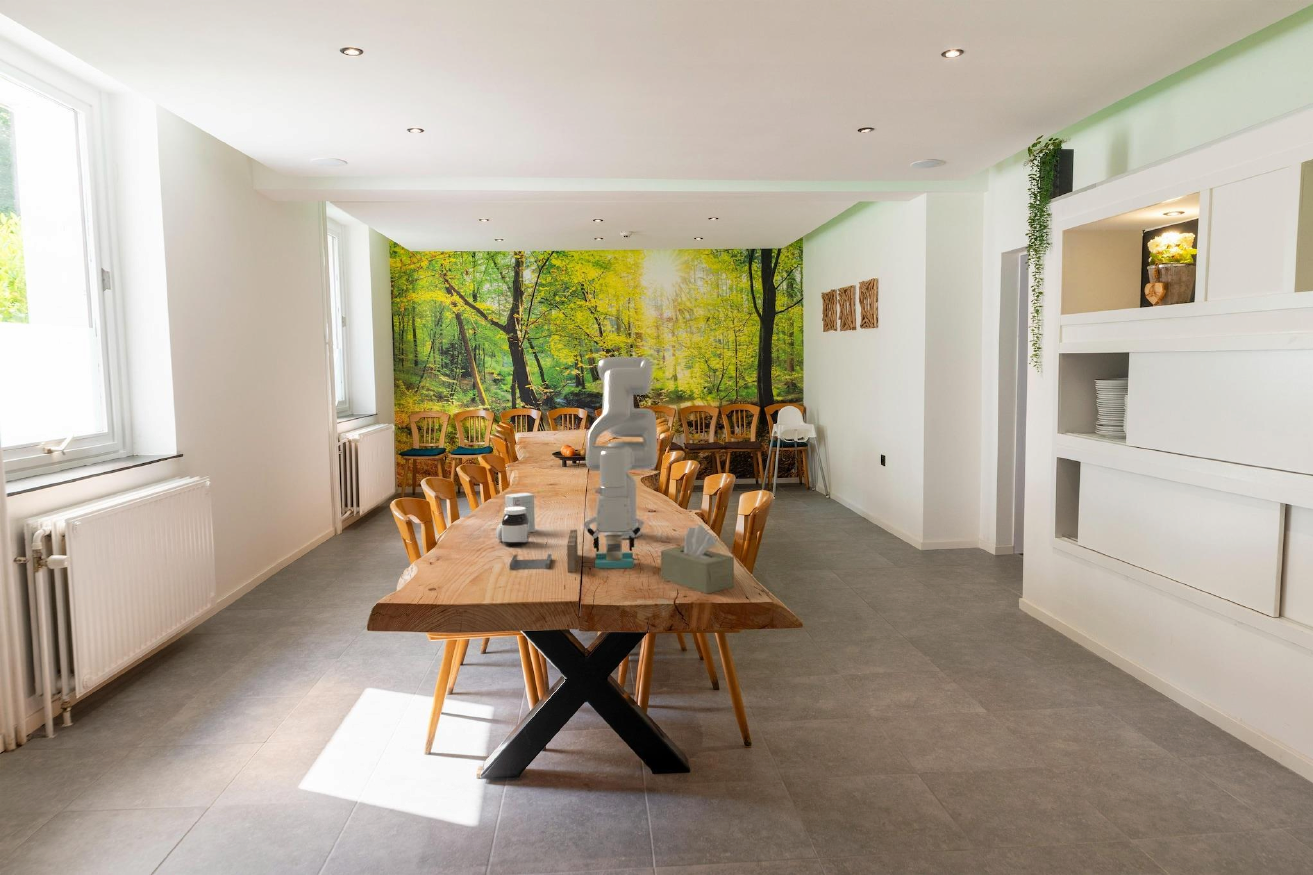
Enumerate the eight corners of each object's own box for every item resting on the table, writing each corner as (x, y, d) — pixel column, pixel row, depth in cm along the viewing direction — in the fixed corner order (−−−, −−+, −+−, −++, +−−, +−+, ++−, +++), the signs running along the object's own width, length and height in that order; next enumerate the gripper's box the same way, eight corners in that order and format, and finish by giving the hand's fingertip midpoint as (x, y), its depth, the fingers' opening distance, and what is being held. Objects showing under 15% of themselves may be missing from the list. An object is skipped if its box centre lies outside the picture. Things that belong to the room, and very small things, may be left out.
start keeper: (514, 560, 240) (514, 554, 240) (551, 559, 241) (551, 554, 241) (509, 570, 230) (509, 564, 229) (548, 569, 230) (548, 563, 230)
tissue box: (735, 587, 211) (735, 527, 210) (707, 594, 205) (707, 533, 204) (687, 573, 226) (686, 516, 224) (660, 579, 220) (659, 521, 218)
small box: (526, 528, 285) (525, 492, 284) (535, 531, 280) (534, 494, 279) (505, 531, 281) (504, 494, 279) (514, 535, 276) (513, 497, 274)
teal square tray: (595, 568, 231) (594, 562, 231) (595, 558, 242) (595, 552, 242) (633, 567, 231) (633, 561, 231) (632, 558, 242) (632, 552, 242)
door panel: (571, 555, 246) (570, 529, 245) (577, 555, 246) (577, 529, 245) (567, 573, 226) (567, 545, 225) (574, 573, 226) (574, 544, 225)
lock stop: (606, 565, 233) (606, 537, 232) (606, 559, 240) (606, 532, 239) (622, 565, 233) (621, 537, 232) (622, 559, 240) (621, 532, 239)
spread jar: (522, 548, 257) (521, 511, 256) (488, 547, 259) (487, 510, 258) (534, 539, 269) (533, 504, 267) (501, 538, 270) (500, 504, 269)
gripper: (582, 494, 230) (583, 554, 232) (643, 493, 231) (644, 552, 233) (583, 490, 238) (584, 548, 240) (642, 489, 239) (643, 546, 240)
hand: (614, 550), depth 236 cm, fingers open, 9 cm apart
